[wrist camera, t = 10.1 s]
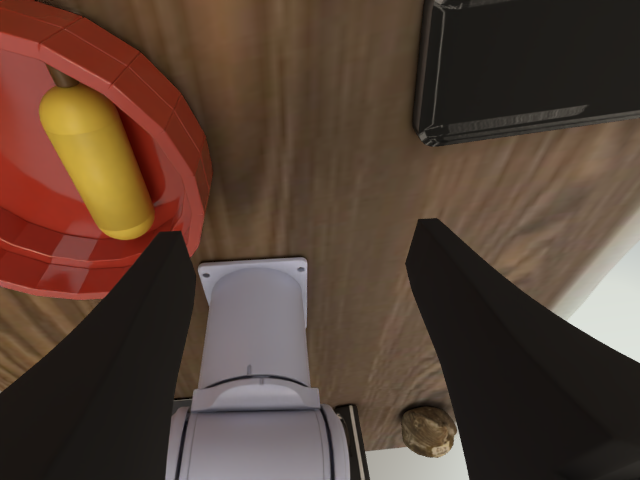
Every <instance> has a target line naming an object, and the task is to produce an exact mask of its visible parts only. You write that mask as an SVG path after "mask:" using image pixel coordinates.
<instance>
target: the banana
mask: <svg viewBox="0 0 640 480" xmlns="http://www.w3.org/2000/svg"><path fill="white" fill-rule="evenodd" d="M45 64H46V63H45ZM46 67H47V69H48V71H49V73H50V75H51V77H52V79H53V81H54V83H55V85H56V86H54V87H52V88H51V89H50V90H48V91H47V92H46V93H45V95H44V96H43V97H42V99H41V102H40V105H39V117H40V121H41V124H42V126H43V128H44V130H45V132H46V134H47V136H48V138H49V139H50V141H51V143H52V145H53V147H54V149H55V150H56V152H57V154H58V156H59V158H60V159H61V161H62V163H63V165H64V167H65V169H66V170H67V172H68V174H69V176H70V178H71V179H72V181H73V183H74V185H75V187H76V189H77V190H78V192H79V194H80V196H81V198H82V200H83V201H84V203H85V205H86V207H87V209H88V210H89V212H90V214H91V216H92V218H93V220H94V221H95V223H96V225H97V226H98V228H99V229H100V230H101V231H102V232H104V233H105V234H106V235H108V236H110V237H112V238H115V239H119V240H130V239H135V238H138V237H140V236H142V235H143V234H145V233H146V232H147V231H148V230H149V229H150V228H151V226H152V224H153V221H154V218H155V210H154V206H153V203H152V200H151V198H150V195H149V192H148V190H147V187H146V185H145V182H144V179H143V177H142V174H141V171H140V169H139V166H138V163H137V161H136V158H135V156H134V153H133V150H132V148H131V145H130V142H129V140H128V137H127V134H126V132H125V129H124V127H123V124H122V121H121V119H120V116H119V113H118V111H117V109H116V107H115V105H114V104H113V103H112V101H111V100H110V99H108V98H107V97H106V96H105V95H103V94H102V93H100V92H98V91H96V90H94V89H92V88H90V87H89V86H87V85H85V84H82V83H80V82H79V81H77V80H76V79H74V78H72V77H70V76H68V75H66V74H64V73H63V72H61V71H59V70H57V69H55V68H53V67H51V66H50V65H48V64H46Z"/></svg>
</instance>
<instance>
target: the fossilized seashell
mask: <svg viewBox="0 0 640 480" xmlns="http://www.w3.org/2000/svg"><path fill="white" fill-rule="evenodd" d="M401 425H402V436H403V441H404V443H405V445H406V446H407V447H408V448H409V449H411V450H412V451H414V452H415V453H417V454H419V455H423V456H426V457H436V458H438V457H441V456H443V455H445V454H446V453H448V452H449V451H450V449H451V448H452V446H453V442H454V435H455V434H456V433H457V428H456V426H455V424H454V422H453V420H452V419H451V417H450V416H449V415H448V414H447V413H446V412H445V411H443V410H441V409H438V408H434V407H428V406H423V407H418V408H415V409H412V410H409V411H408V412H405V414H404V415H403V417H402V422H401Z"/></svg>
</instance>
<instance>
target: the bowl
mask: <svg viewBox="0 0 640 480" xmlns="http://www.w3.org/2000/svg"><path fill="white" fill-rule="evenodd" d="M45 63H46V64H48V65H50V66H51V67H53V68H55V69H57V70H59V71H61V72H63V73H64V74H66V75H68V76H70V77H72V78H74V79H76V80H77V81H79V82H80V83H82V84H85V85H87V86H89V87H90V88H92V89H94V90H96V91H98V92H100V93H102V94H103V95H105V96H106V97H107V98H108V99H110V100H111V101H112V103H113V104H114V105H115V107H116V109H117V111H118V113H119V116H120V119H121V121H122V124H123V127H124V129H125V132H126V134H127V137H128V140H129V142H130V145H131V148H132V150H133V153H134V156H135V158H136V161H137V163H138V166H139V169H140V171H141V174H142V177H143V179H144V182H145V185H146V187H147V190H148V192H149V195H150V198H151V200H152V203H153V206H154V210H155V218H154V221H153V224H152V226H151V228H150V229H149V230H148V231H147V232H146V233H145V234H143V235H142V236H140V237H138V238H135V239H130V240H119V239H115V238H112V237H110V236H108V235H106V234H105V233H104V232H102V231H101V230H100V229H99V228H98V226H97V225H96V223H95V221H94V220H93V218H92V216H91V214H90V212H89V210H88V209H87V207H86V205H85V203H84V201H83V200H82V198H81V196H80V194H79V192H78V190H77V189H76V187H75V185H74V183H73V181H72V179H71V178H70V176H69V174H68V172H67V170H66V169H65V167H64V165H63V163H62V161H61V159H60V158H59V156H58V154H57V152H56V150H55V149H54V147H53V145H52V143H51V141H50V139H49V138H48V136H47V134H46V132H45V130H44V128H43V126H42V124H41V121H40V117H39V105H40V102H41V99H42V97H43V96H44V95H45V93H46V92H47V91H48V90H50V89H51V88H52V87H54V86H56V85H55V83H54V81H53V79H52V77H51V75H50V73H49V71H48V69H47V67H46V64H45ZM212 176H213V168H212V164H211V159H210V154H209V149H208V145H207V140H206V136H205V134H204V132H203V130H202V128H201V127H200V125H199V123H198V121H197V120H196V118H195V116H194V115H193V113H192V111H191V109H190V108H189V106H188V104H187V102H186V101H185V99H184V97H183V95H182V94H181V92H180V91H179V90H178V89H177V88H176V87H175V86H174V85H173V84H172V83H171V82H170V81H169V80H168V79H167V78H166V77H165V76H164V75H163V74H162V73H161V72H160V71H159V70H158V69H157V68H156V67H155V66H154V65H153V64H152V63H151V62H150V61H149V60H148V59H147V58H146V57H145V56H144V55H143V54H142V53H140V52H139V51H138V50H136V49H135V48H133V47H132V46H130V45H128V44H127V43H125V42H124V41H122V40H120V39H119V38H117V37H116V36H114V35H112V34H111V33H109V32H108V31H106V30H104V29H103V28H101V27H100V26H98V25H96V24H95V23H93V22H91V21H90V20H88V19H87V18H85V17H82V16H80V15H77V14H74V13H71V12H68V11H65V10H62V9H59V8H55V7H52V6H49V5H46V4H43V3H40V2H37V1H34V0H0V287H4V288H8V289H12V290H16V291H20V292H24V293H28V294H32V295H36V296H45V297H55V298H65V299H74V300H88V299H103V298H104V297H105V296H106V295H107V294H108V293H109V292H110V291H111V290H112V288H113V287H114V286H115V285H116V284H117V283H118V281H119V280H120V279H121V278H122V277H123V275H124V274H125V273H126V272H127V271H128V270H129V268H130V267H131V266H132V265H133V263H134V262H135V261H136V260H137V259H138V257H139V256H140V255H141V254H142V252H143V251H144V250H145V249H146V247H147V246H148V245H149V244H150V242H151V241H152V240H153V239H154V237H155V236H156V235H157V234H158V233H159V232H164V231H181V232H182V235H183V238H184V241H185V244H186V247H187V250H188V253H189V256H190V258H191V257H192V255H193V254H194V252H195V251H196V250H197V248H198V247H199V244H200V240H201V235H202V230H203V225H204V220H205V215H206V210H207V205H208V199H209V194H210V188H211V182H212Z"/></svg>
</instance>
